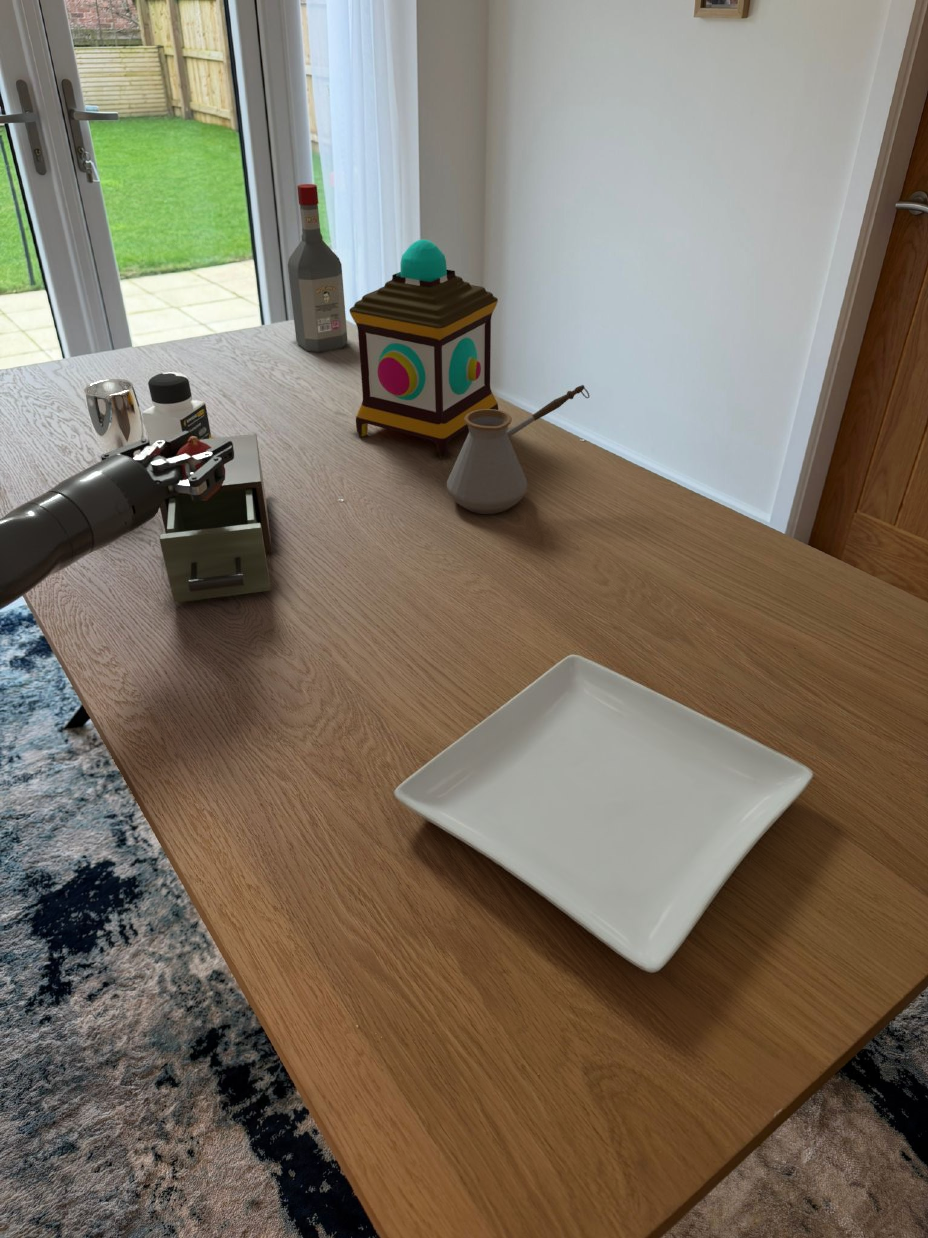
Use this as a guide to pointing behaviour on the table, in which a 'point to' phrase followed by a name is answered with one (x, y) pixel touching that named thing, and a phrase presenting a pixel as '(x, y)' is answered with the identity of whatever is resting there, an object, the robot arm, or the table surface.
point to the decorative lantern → (424, 349)
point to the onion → (193, 449)
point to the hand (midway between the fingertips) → (210, 443)
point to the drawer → (214, 546)
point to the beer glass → (114, 413)
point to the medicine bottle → (174, 409)
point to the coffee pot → (493, 460)
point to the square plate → (609, 803)
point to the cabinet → (240, 479)
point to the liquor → (316, 283)
